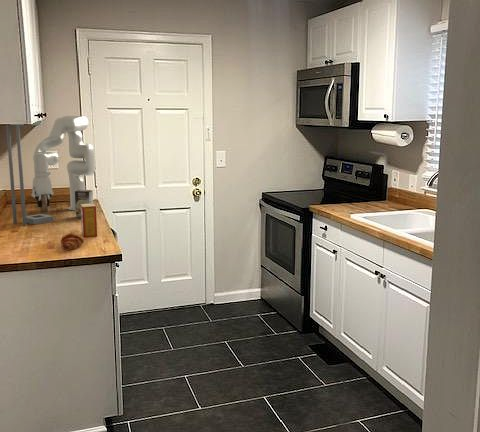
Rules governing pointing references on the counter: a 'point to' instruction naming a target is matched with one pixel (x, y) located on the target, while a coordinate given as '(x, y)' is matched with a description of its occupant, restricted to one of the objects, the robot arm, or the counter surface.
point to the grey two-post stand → (19, 172)
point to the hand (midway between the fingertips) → (43, 206)
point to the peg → (44, 204)
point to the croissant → (71, 241)
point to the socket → (39, 219)
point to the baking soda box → (88, 220)
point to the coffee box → (82, 199)
